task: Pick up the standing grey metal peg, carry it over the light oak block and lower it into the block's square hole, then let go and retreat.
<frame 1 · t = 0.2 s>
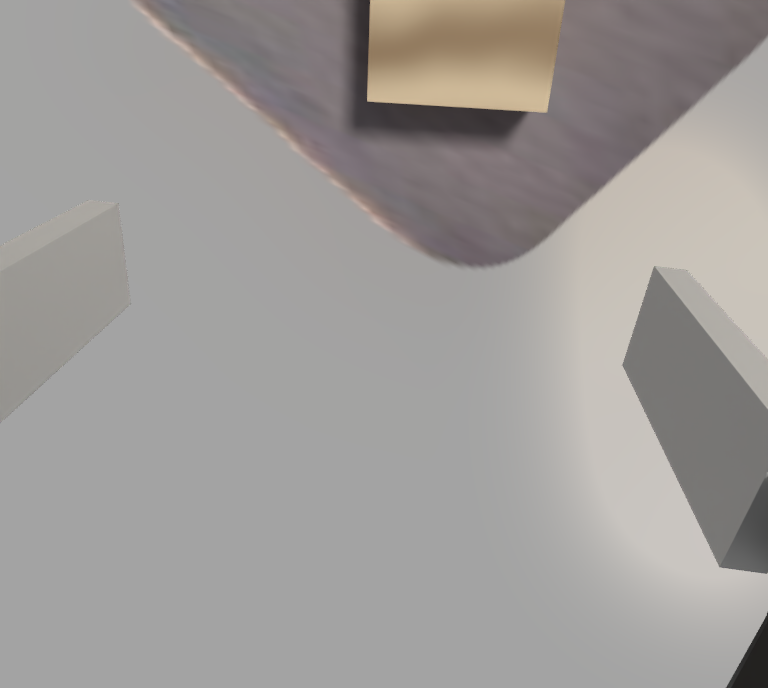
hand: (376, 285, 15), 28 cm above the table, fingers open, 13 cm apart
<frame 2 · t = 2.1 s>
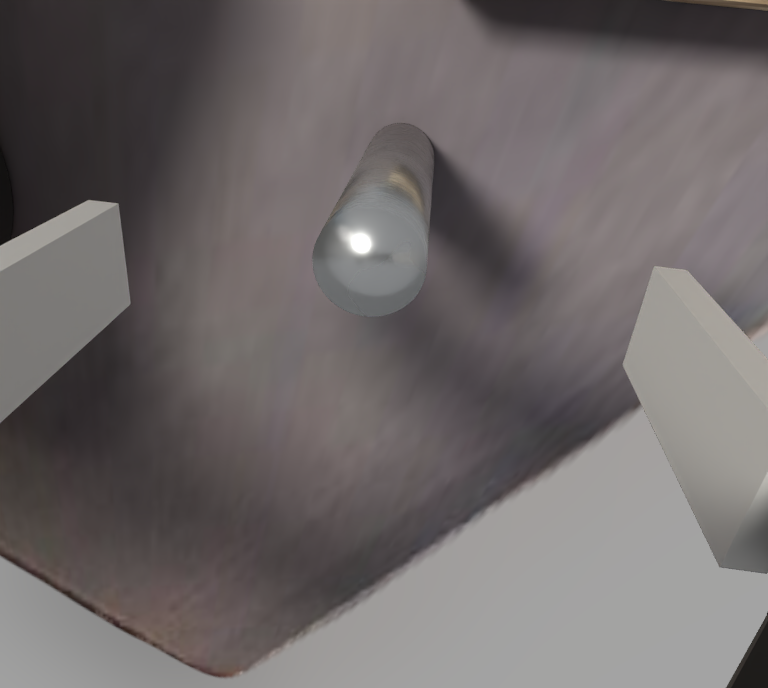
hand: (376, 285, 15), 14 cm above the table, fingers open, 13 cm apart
peg: (400, 158, 27), on the table
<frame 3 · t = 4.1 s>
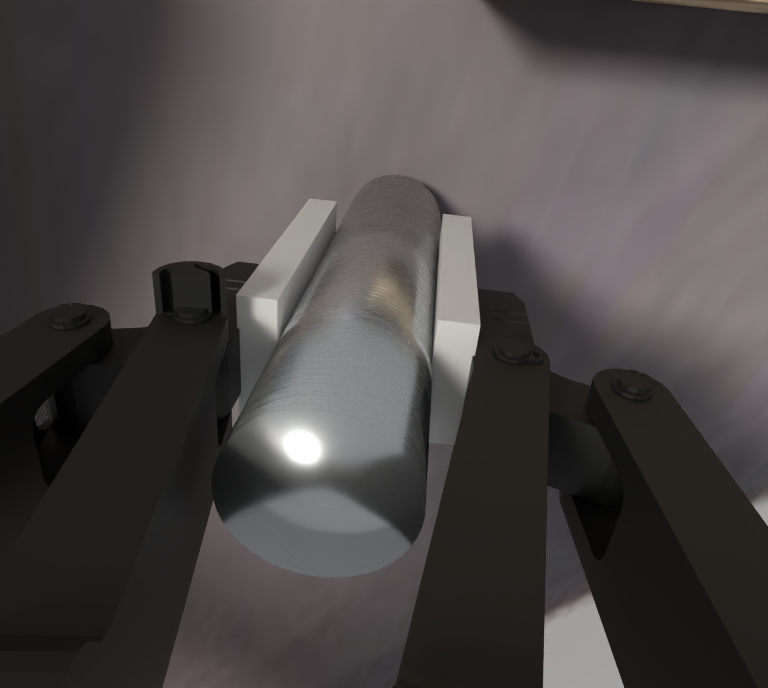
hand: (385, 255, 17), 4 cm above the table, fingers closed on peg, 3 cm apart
peg: (394, 221, 20), point 1 cm above the table, touching gripper
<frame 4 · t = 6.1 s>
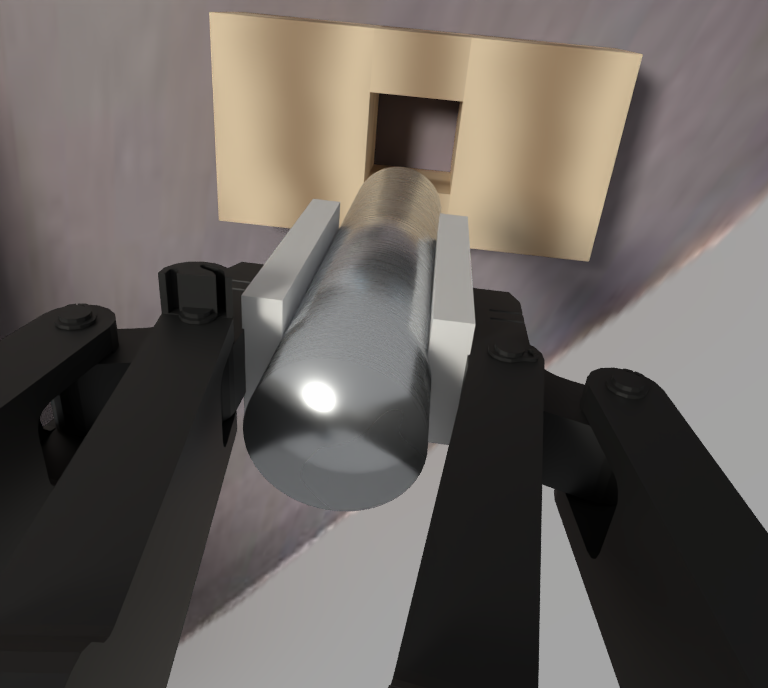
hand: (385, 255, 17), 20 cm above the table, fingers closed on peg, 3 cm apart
hole block: (416, 128, 35), on the table
peg: (397, 210, 21), point 16 cm above the table, touching gripper
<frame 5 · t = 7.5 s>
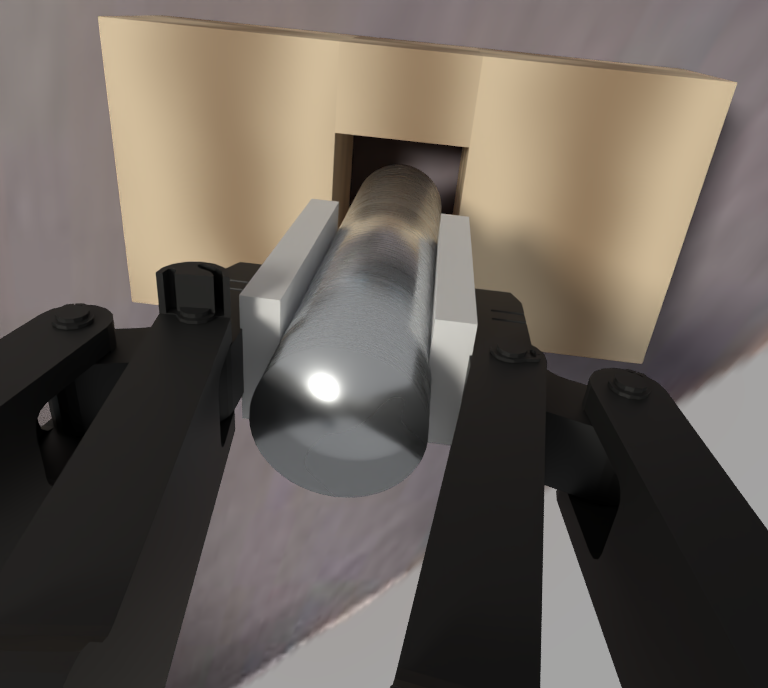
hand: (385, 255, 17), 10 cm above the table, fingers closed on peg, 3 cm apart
hole block: (404, 173, 26), on the table
peg: (398, 207, 22), point 5 cm above the table, touching gripper
when the fingers open (6 cm above the table, at t = 8.4 s): peg drops 1 cm, resting in hole block.
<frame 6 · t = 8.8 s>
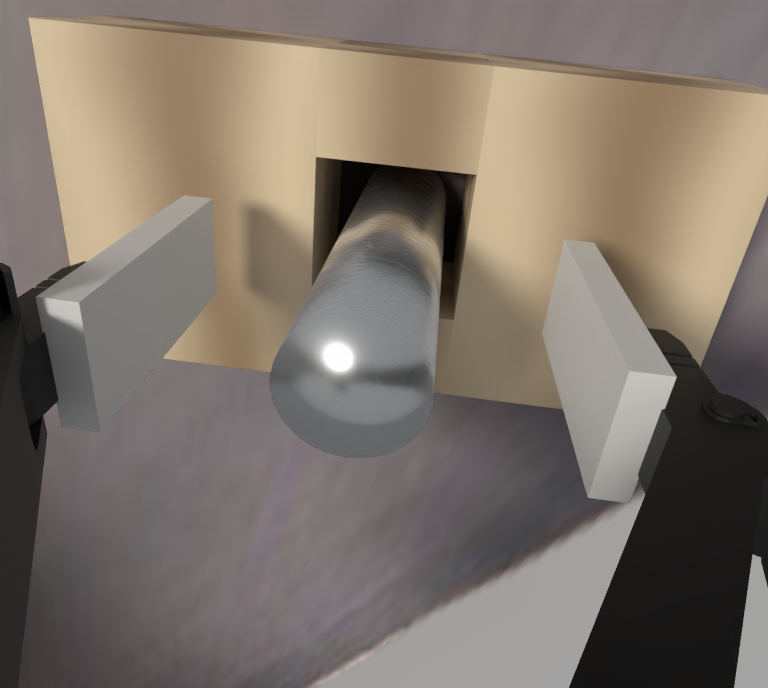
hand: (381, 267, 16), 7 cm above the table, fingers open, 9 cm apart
hole block: (400, 198, 23), on the table
peg: (405, 199, 23), resting in hole block
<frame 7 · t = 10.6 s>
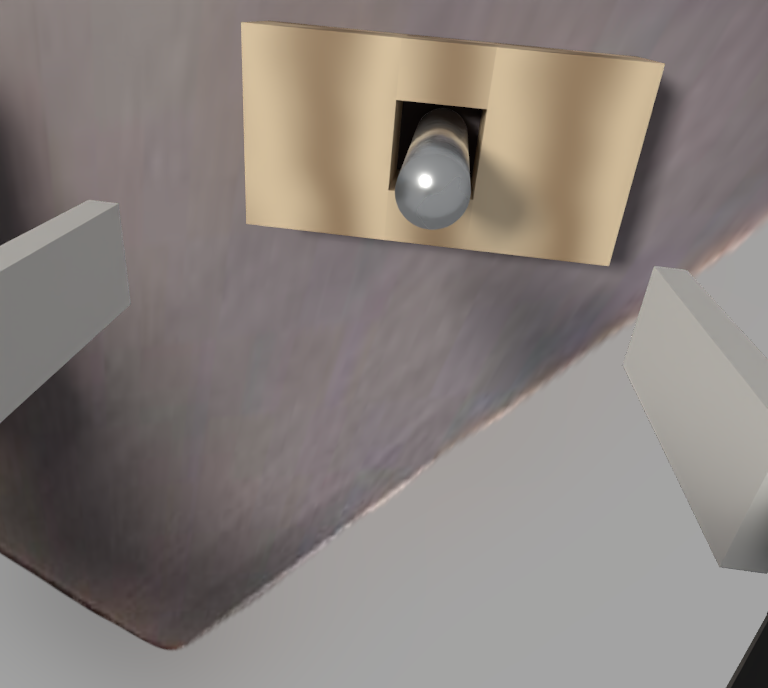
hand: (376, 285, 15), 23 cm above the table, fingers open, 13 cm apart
hole block: (438, 134, 36), on the table
peg: (441, 135, 36), resting in hole block
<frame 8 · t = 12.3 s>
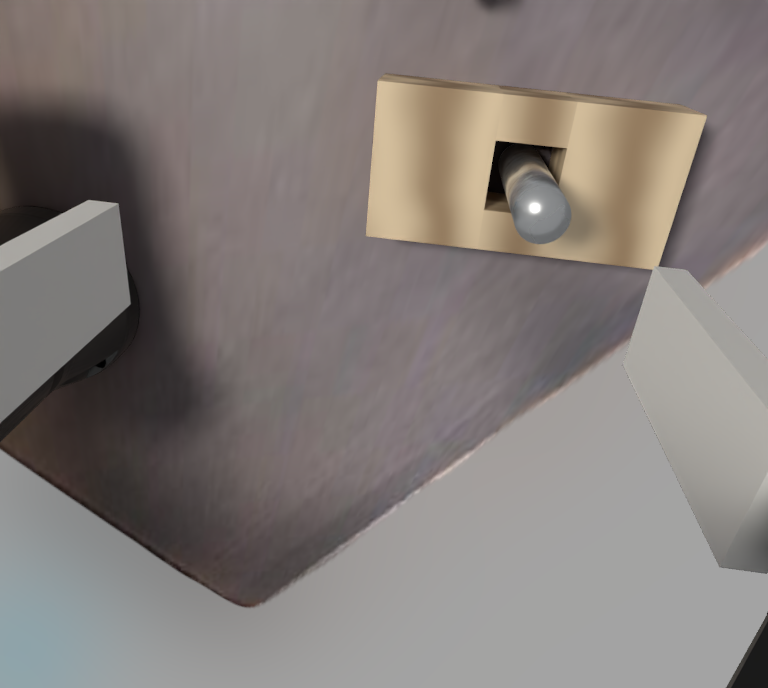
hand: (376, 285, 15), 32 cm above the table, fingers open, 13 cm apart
hole block: (517, 163, 44), on the table
peg: (519, 164, 44), resting in hole block
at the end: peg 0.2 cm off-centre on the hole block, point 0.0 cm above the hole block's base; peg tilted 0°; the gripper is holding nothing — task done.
